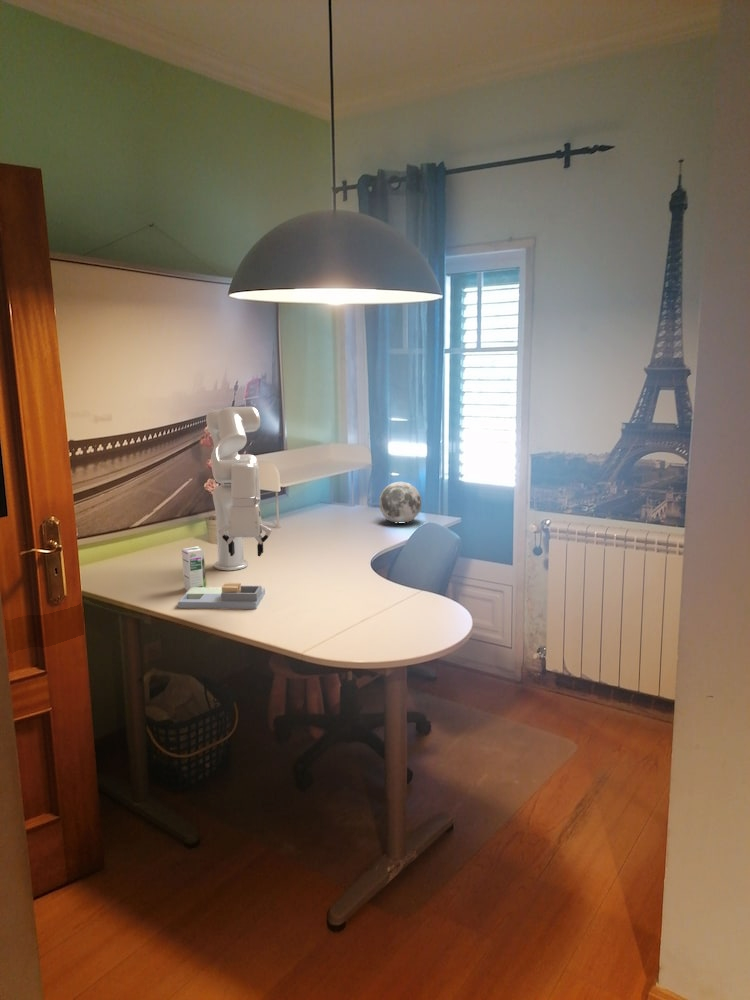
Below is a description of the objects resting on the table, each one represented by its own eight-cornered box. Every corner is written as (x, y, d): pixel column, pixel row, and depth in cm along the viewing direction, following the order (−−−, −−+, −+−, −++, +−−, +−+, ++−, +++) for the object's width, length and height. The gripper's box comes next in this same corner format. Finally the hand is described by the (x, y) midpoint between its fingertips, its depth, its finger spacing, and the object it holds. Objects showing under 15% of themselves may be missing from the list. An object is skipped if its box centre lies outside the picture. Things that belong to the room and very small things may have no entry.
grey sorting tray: (191, 592, 248) (191, 580, 248) (264, 593, 247) (264, 580, 247) (178, 607, 234) (177, 594, 233) (256, 608, 233) (255, 595, 232)
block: (226, 594, 241) (225, 582, 240) (241, 594, 240) (240, 582, 240) (222, 599, 236) (221, 587, 235) (237, 599, 236) (237, 587, 235)
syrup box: (190, 592, 248) (188, 551, 246) (183, 588, 253) (181, 547, 250) (206, 589, 252) (204, 548, 249) (199, 585, 256) (197, 545, 254)
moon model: (377, 518, 359) (377, 478, 355) (418, 518, 360) (418, 478, 356) (380, 528, 339) (380, 485, 335) (423, 527, 340) (424, 485, 336)
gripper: (273, 499, 235) (275, 552, 238) (219, 499, 236) (222, 551, 239) (269, 504, 228) (270, 558, 231) (213, 504, 228) (216, 558, 232)
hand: (246, 554), depth 235 cm, fingers open, 8 cm apart
